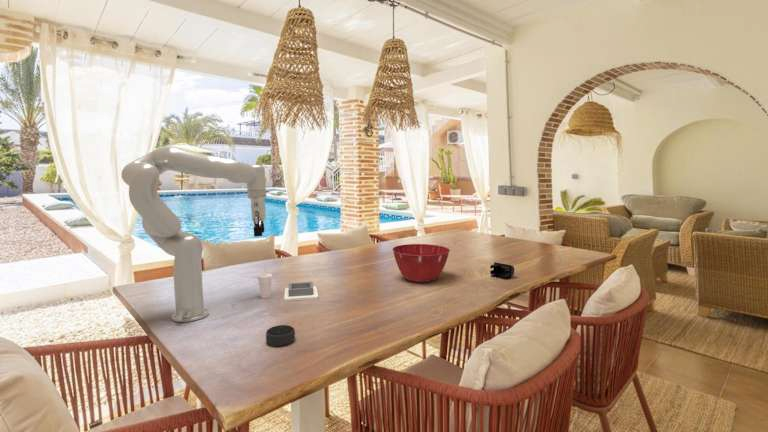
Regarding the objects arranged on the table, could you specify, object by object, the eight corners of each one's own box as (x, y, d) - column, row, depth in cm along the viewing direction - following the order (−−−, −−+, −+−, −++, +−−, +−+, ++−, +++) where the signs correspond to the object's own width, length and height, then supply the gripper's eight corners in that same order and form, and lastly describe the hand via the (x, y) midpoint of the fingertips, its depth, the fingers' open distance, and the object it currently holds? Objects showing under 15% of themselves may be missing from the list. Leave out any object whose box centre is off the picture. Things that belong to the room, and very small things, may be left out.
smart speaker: (297, 335, 133) (296, 324, 133) (292, 347, 124) (291, 334, 124) (270, 336, 133) (269, 324, 133) (263, 347, 124) (262, 335, 124)
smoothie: (265, 300, 170) (263, 267, 169) (254, 297, 174) (253, 266, 172) (276, 296, 176) (275, 264, 174) (266, 294, 179) (265, 263, 178)
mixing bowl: (460, 278, 203) (461, 248, 201) (426, 290, 182) (426, 257, 180) (416, 269, 222) (416, 241, 220) (380, 279, 201) (380, 249, 200)
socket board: (318, 298, 172) (317, 289, 171) (284, 301, 169) (283, 292, 168) (316, 288, 187) (316, 280, 187) (285, 290, 184) (284, 282, 184)
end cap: (514, 277, 203) (514, 264, 203) (506, 280, 199) (507, 266, 198) (497, 274, 211) (497, 261, 210) (489, 276, 206) (489, 263, 205)
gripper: (264, 195, 162) (266, 237, 164) (267, 192, 179) (270, 230, 181) (244, 196, 161) (247, 238, 163) (250, 193, 178) (252, 231, 180)
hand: (259, 234), depth 172 cm, fingers open, 9 cm apart
